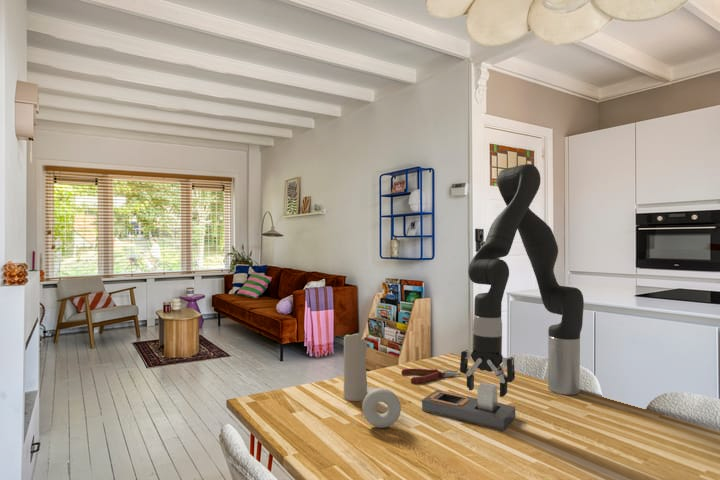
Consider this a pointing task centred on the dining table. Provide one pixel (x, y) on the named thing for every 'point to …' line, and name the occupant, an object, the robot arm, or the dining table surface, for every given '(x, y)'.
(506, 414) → the rail
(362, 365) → the tall grey curved block
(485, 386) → the steel block
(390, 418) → the donut
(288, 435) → the dining table surface
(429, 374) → the pliers
